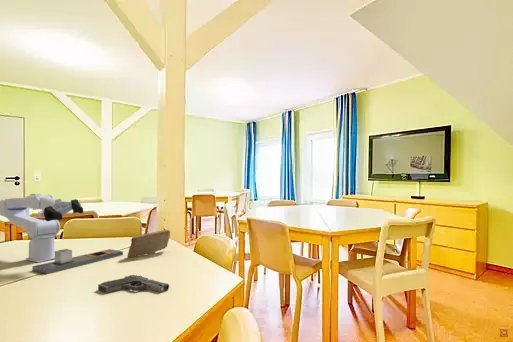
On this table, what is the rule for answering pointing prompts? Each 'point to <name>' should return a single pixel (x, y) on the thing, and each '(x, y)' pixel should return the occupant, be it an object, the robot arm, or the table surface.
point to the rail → (77, 261)
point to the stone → (148, 243)
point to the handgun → (133, 284)
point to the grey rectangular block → (63, 256)
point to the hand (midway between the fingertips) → (72, 213)
